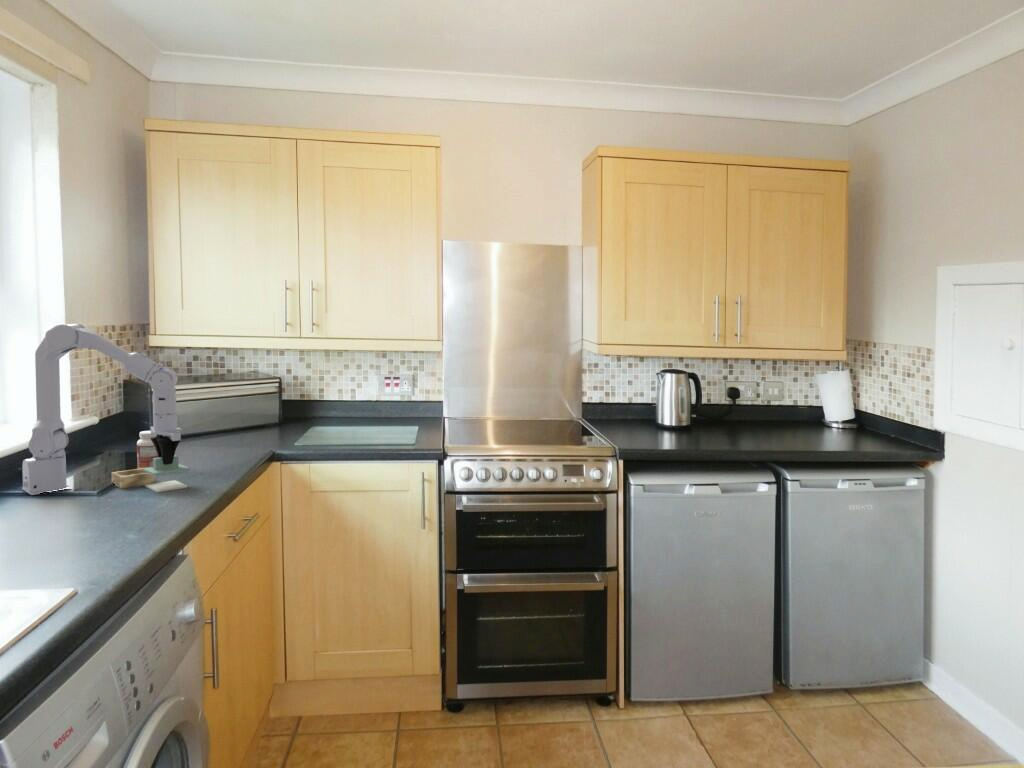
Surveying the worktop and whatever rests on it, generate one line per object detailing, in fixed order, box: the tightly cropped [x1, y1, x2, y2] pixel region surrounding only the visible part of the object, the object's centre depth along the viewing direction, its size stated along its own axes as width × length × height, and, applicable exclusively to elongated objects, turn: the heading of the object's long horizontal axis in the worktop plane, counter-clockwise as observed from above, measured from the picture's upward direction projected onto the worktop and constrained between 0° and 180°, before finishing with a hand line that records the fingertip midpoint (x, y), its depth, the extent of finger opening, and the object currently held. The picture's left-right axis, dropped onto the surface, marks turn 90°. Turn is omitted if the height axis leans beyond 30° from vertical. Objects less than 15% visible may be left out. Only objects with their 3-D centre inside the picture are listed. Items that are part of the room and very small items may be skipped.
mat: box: [144, 479, 189, 493], centre depth 200 cm, size 8×8×1 cm
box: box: [111, 468, 157, 490], centre depth 202 cm, size 9×7×3 cm
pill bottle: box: [136, 430, 158, 469], centre depth 219 cm, size 6×6×11 cm
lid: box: [142, 454, 190, 476], centre depth 199 cm, size 9×7×4 cm
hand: (166, 463), depth 199 cm, fingers closed on lid, 2 cm apart
